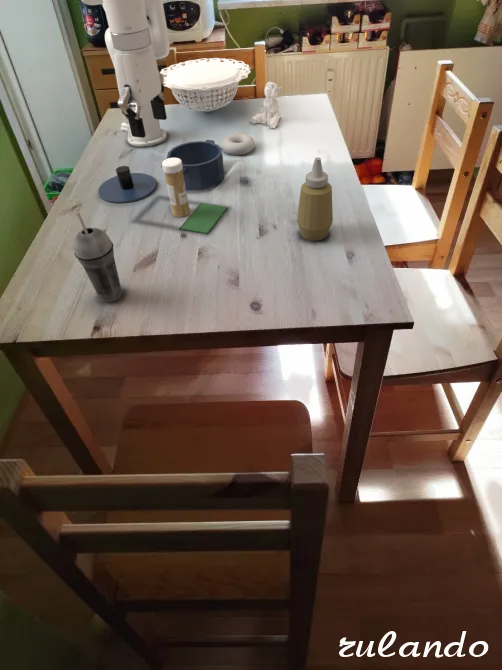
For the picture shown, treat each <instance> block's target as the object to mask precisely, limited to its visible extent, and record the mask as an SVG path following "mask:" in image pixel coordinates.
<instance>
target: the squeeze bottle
mask: <svg viewBox="0 0 502 670" xmlns="http://www.w3.org/2000/svg"><path fill="white" fill-rule="evenodd" d="M299 193H300V194H299V200H298V209H297V216H296V222H297V226H298V228H299V232H300V234H301V237H302V238H303V239H305V240H308V241H311V242H316V241H321V240H323V239H325V238H326V237H327V236H328V234H329V232H330V229H331V227H332V225H333V221H334V213H333V212H334V211H333V210H334V209H333V208H334V207H333V186H332V185H331V183H330V182H329V174H328V173H327V172H326V171H324V170H323V165H322V158H321V157H318V156H317V157H314V160H313V165H312V168H311V171H309V172H307V173H306V174H305V182H303V184H301V187H300V192H299Z"/></svg>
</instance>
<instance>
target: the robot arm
mask: <svg viewBox="0 0 502 670" xmlns="http://www.w3.org/2000/svg"><path fill="white" fill-rule="evenodd" d="M80 1H81V2H82V3H83V4H85V5H88V6H97V5H98V6H99V5H101V6H102V8H103V10H104V12H105V17H106V21H107V25H108V28H107V29H106V30H105V33H104V42H105V45H106V48H107V52H108V54H109V56H110V57H109V58H110V60H111V62H112V65H113V69H114V73H115V79H116V84H117V90H118V93H119V99H118V101H117V106H118V107H119V109H120V110H121V113H122V115H124V117H125V118H126V119H127V122H121V123H120V124H121V125H120V126H121V127H120V132H124V133H127V134H128V135H127V138H126V139H127V143H128V144H129V145H130V146H133V147H138V148H146V147H152V146H156V145H159V144H161V143H163V142H164V141H165V140H166V139H167V138H168V134H167V131H166V130H165V129H163V128H161V124H160V121H166V120H167V119H168V116H167V111H166V106H165V95H164V92H165V86H164V85H165V84H164V75H163V74H161V73H160V70H159V66H158V62H157V60H161V59H165V58H166V57H168V56H169V54H170V51H171V48H170V47H171V45H170V38H169V32H168V25H167V20H166V15H165V8H164V2H163V0H80Z"/></svg>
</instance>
